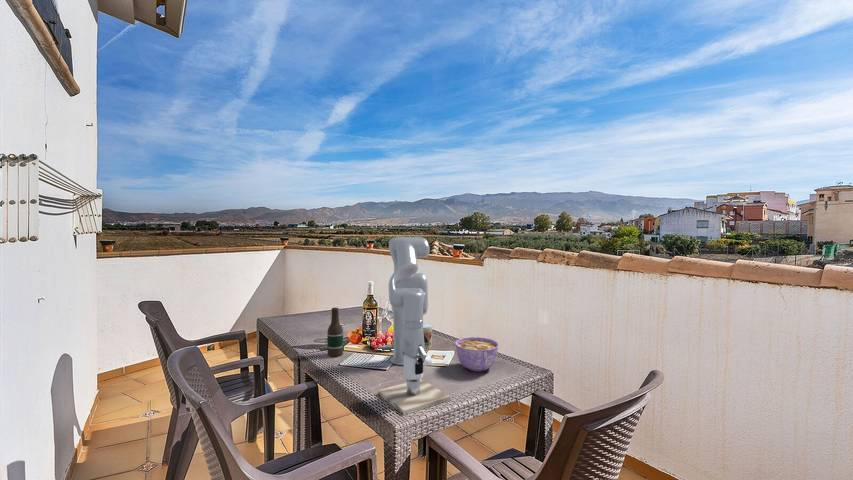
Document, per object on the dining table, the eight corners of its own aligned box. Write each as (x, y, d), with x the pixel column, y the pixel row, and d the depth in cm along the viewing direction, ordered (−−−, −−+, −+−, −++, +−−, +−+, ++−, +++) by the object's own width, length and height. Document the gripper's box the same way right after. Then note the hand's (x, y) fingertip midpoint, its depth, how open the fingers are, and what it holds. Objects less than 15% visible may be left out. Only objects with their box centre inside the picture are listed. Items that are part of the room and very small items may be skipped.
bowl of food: (498, 378, 163) (498, 351, 163) (452, 374, 167) (452, 348, 167) (499, 362, 183) (499, 338, 183) (457, 359, 187) (457, 336, 187)
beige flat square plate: (377, 394, 148) (377, 376, 148) (420, 382, 159) (420, 365, 159) (404, 415, 131) (404, 395, 131) (450, 400, 143) (450, 381, 142)
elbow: (400, 374, 146) (400, 354, 146) (423, 368, 152) (423, 348, 152) (410, 381, 140) (410, 359, 140) (434, 374, 146) (434, 353, 146)
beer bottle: (346, 354, 195) (346, 307, 194) (335, 358, 188) (334, 310, 187) (335, 351, 199) (335, 305, 198) (324, 355, 192) (323, 308, 191)
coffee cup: (419, 351, 200) (419, 328, 199) (412, 346, 208) (412, 324, 208) (435, 348, 203) (435, 326, 203) (428, 343, 212) (428, 322, 211)
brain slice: (361, 346, 208) (361, 341, 208) (387, 341, 218) (387, 335, 218) (379, 356, 193) (379, 350, 192) (407, 349, 203) (407, 343, 203)
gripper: (393, 320, 149) (393, 365, 150) (417, 330, 135) (417, 380, 136) (409, 318, 154) (409, 361, 154) (434, 327, 139) (434, 375, 140)
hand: (413, 370), depth 145 cm, fingers closed on elbow, 7 cm apart
